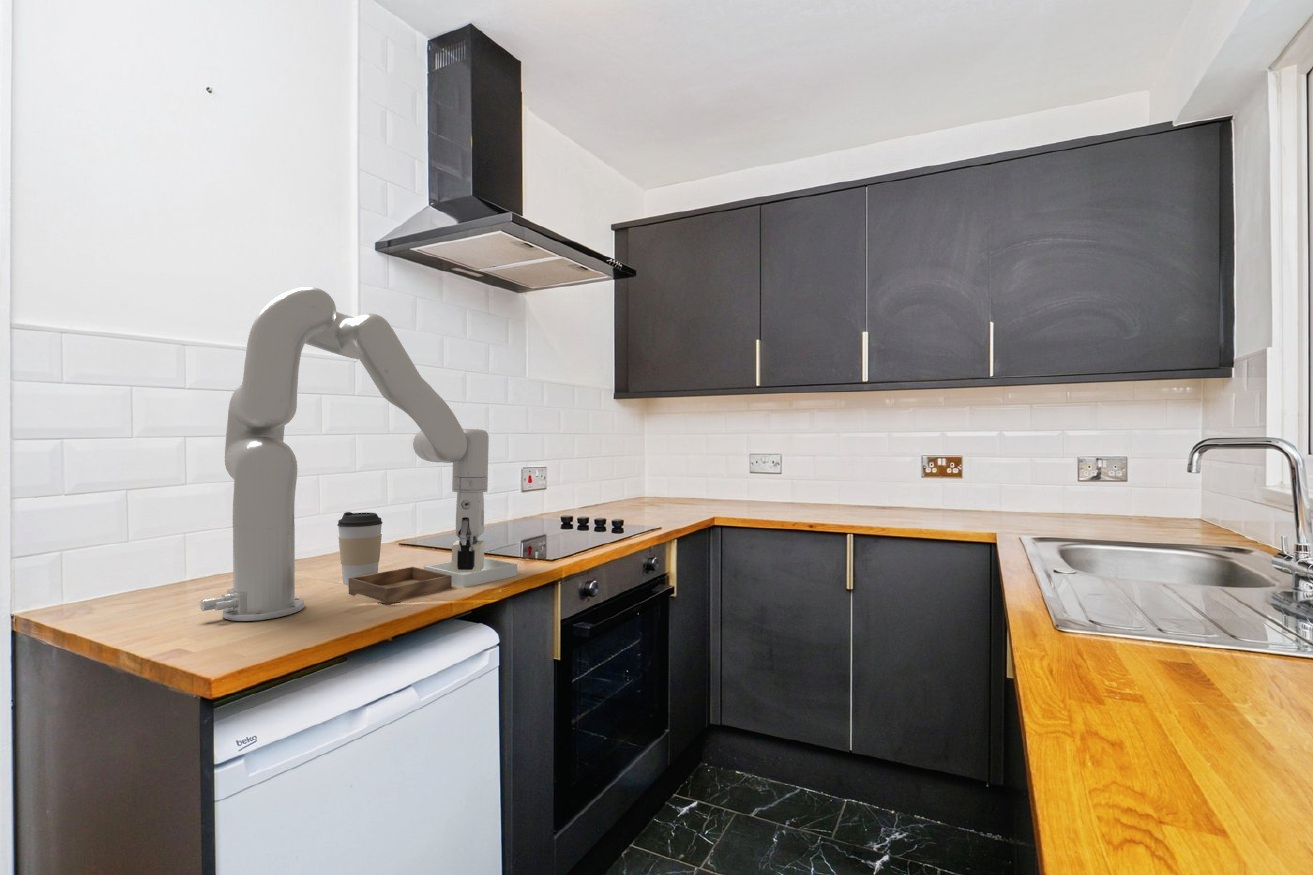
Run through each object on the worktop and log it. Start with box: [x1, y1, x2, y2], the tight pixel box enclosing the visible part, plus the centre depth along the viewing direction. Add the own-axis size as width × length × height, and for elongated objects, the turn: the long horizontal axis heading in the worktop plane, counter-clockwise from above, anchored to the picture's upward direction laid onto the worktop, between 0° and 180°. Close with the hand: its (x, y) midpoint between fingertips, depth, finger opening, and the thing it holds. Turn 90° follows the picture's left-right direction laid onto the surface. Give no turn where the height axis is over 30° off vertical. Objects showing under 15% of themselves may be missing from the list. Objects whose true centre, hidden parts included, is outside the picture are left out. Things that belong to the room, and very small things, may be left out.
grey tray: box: [423, 557, 518, 589], centre depth 143 cm, size 14×14×3 cm
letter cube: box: [451, 540, 485, 573], centre depth 142 cm, size 6×6×6 cm
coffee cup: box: [336, 511, 383, 586], centre depth 140 cm, size 9×9×15 cm
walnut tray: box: [348, 566, 453, 606], centre depth 131 cm, size 14×14×3 cm
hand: (468, 565), depth 142 cm, fingers closed on letter cube, 6 cm apart
